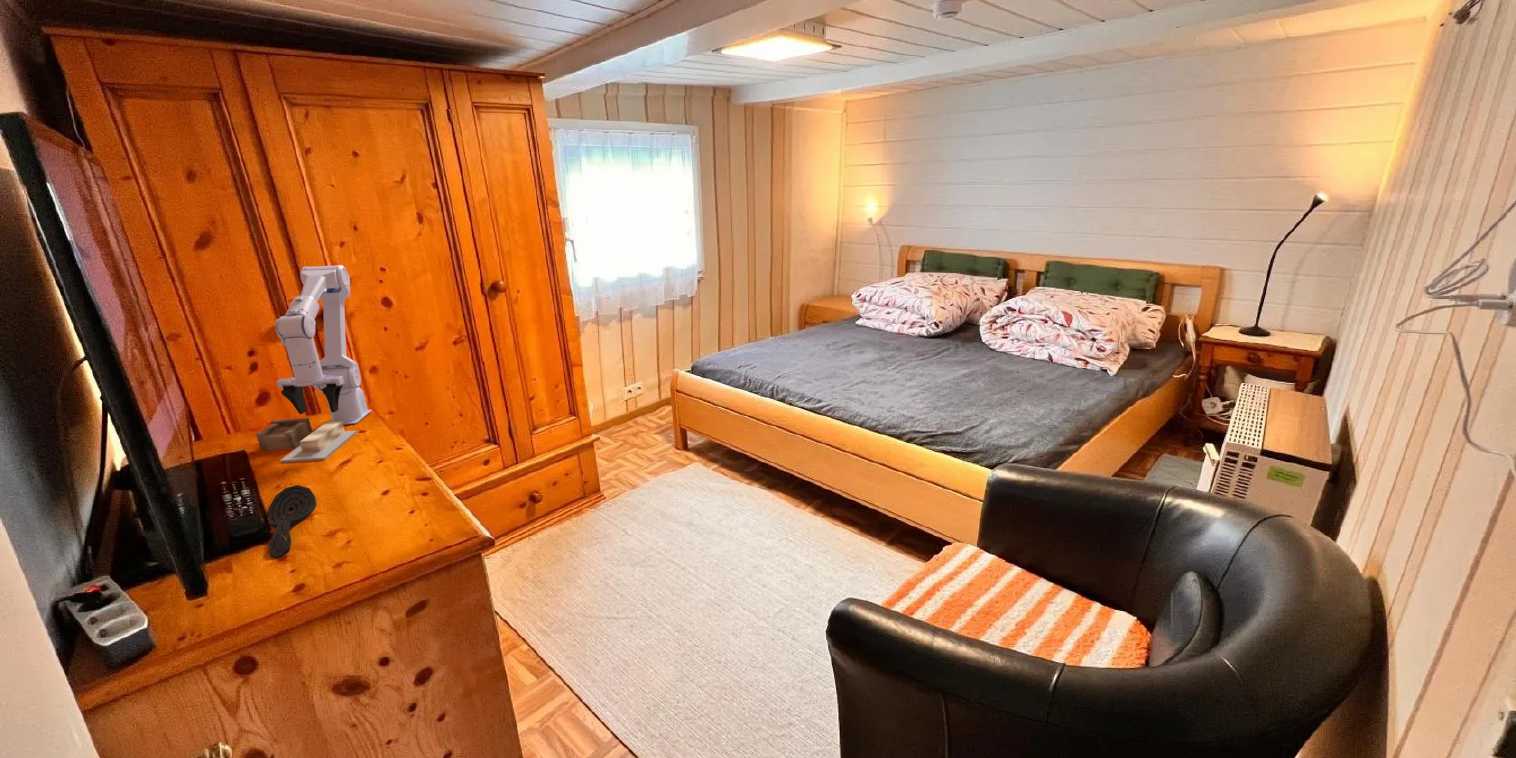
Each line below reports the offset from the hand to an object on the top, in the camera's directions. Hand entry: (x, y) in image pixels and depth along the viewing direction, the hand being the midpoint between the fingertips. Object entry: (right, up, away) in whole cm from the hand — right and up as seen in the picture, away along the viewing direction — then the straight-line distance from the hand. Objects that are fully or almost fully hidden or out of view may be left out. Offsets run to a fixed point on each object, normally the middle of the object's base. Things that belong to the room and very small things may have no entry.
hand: (319, 411), depth 152 cm
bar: (0, -8, +2) cm, 8 cm away
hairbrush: (+19, -22, -33) cm, 44 cm away
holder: (-10, -8, +2) cm, 13 cm away
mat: (0, -9, 0) cm, 9 cm away
